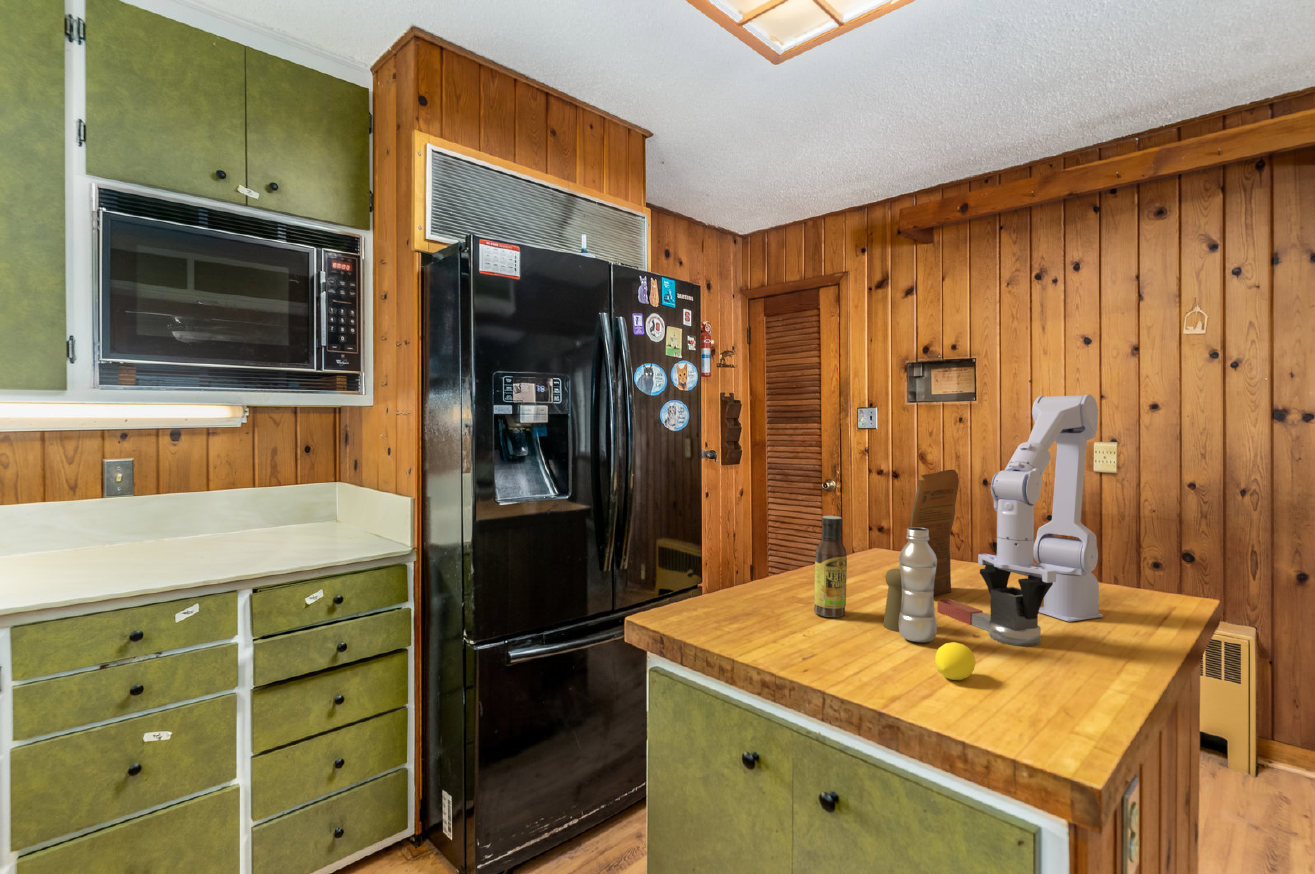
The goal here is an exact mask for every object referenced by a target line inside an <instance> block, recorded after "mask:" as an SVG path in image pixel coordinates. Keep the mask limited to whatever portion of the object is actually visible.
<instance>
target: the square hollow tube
mask: <svg viewBox="0 0 1315 874" xmlns="http://www.w3.org/2000/svg"><path fill="white" fill-rule="evenodd" d="M990 615H991V622H992V623H995V624H997V625H1000V626H1003V627H1006V628H1008V629H1011V630H1014V631H1019V630H1025V629H1032V628H1038V626H1039V624H1038V623H1039V621H1038V619H1039V618H1038V616H1037V618H1036V619H1025V617H1024V605H1023V595H1022V591H1021V588H1018V587H1015V586H1007V587H1005V588H997V589H991V596H990Z"/></svg>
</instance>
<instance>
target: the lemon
mask: <svg viewBox="0 0 1315 874" xmlns="http://www.w3.org/2000/svg"><path fill="white" fill-rule="evenodd" d="M934 656H935V660H934V661H935V663H934V664H935V666H936V669H937V671H938V672H939V673H940V674H942V675H943V677H944V678H945V679H948V680H951V681H962V680H964V679H966V678H968V677H970V675H971V674H972V673H973V672H974V671H975V666H976V663H977V661H976V658H975V655H974V653H973V651H972V650H971V648H969V647H968V646H966V645H964V644H963V643H958V642H955V641H951V642H946V643H944V644H942V645H941V646H939V647H938V649H937V650H936V653H935V655H934Z"/></svg>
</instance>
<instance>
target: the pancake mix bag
mask: <svg viewBox="0 0 1315 874" xmlns="http://www.w3.org/2000/svg"><path fill="white" fill-rule="evenodd" d="M917 485H918V486H917V488H916V489H917V490H916V492H915V498H914V501H913V505H912V506H913V507H912V510H911V516H910V522H909V528H911V527H918V528H926V529H928V531H929V540H928V541H927V542H928V544H929V546H930V547H931V548H932V550H933V551H934V553H935V555H936V558H937V566H936V573H935V579H934V590H933V591H934V594H933V598H934V597H937V596H940V595H945V594H948V593H952V579H951V577H952V576H951V575H952V573H951V570H952V569H951V534H952V528H953V526H954V521H955V515H956V504H957V503H956V502H957V497H958V492H959V491H958V490H959V474H958V472H957V471H956V470H955V469H947V470H939V471H938V472H935V473H934V472H933V473H926V474H922V475H920V479H919V480H918V484H917Z"/></svg>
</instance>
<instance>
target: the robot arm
mask: <svg viewBox="0 0 1315 874" xmlns="http://www.w3.org/2000/svg"><path fill="white" fill-rule="evenodd" d="M1031 413H1032V420H1033V422H1034V424H1033V426H1032V430H1031V432H1030V435H1029V437H1028V439H1027V441H1026V442H1022V443H1020V444H1018V446H1017V447H1016V448H1015V449H1016V450H1015V451H1014V452H1013V455H1012V456H1011V458H1010V459H1009V462H1008V463H1007V464H1006V467H1005V468H1004V469H1003V470H1000V471H999V472H996V473H994V475H993V476H992V480H991V485H990V492H991V497H992V500H993V508H994V511H996V519H997V520H996V555H995V554H989V553H979V554H978V556H977V557H978V558H977V562H978V563H977V564H978V565H979V566H985V567H984V568H980V569H979V574H980V576H981V577H982V578H983V580H984V582H985V585H986V587H987V589H988V593H989V596H990V597H991V589H997V588H1005V587H1008V583H1009V579H1010V576H1011V574H1012V573H1014V574H1017V575H1021V576H1025V577H1026V578H1018V580H1017V582H1018V584H1019V586H1020V589H1021V591H1022V595H1023V605H1024V617H1025V619H1036V618H1037V616H1038V615H1039V613H1041V614H1043V615H1046V616H1049V617H1052V618H1056V619H1058V620H1062V621H1065V622H1075V621H1083V620H1088V619H1089V620H1090V619H1097V618H1098V619H1099V618H1103V617H1104V615H1103V614H1102V613H1099V608H1100V601H1099V599H1100V592H1099V591H1100V585H1099V581H1098V579H1097V577H1096V576H1095V574H1093V573H1092V572H1093V571H1094V570H1095V569H1096V567H1097V565H1098V564H1097V563H1098V559H1099V551H1098V547H1097V546H1098V545H1097V543H1098V542H1097V536H1096V534H1095V533H1094V532H1093V531H1092V530H1091V529H1090V528H1088V527H1087V526H1085V525H1084V524H1083V523H1082V522H1081V521H1082V505H1083V492H1084V477H1085V476H1084V474H1085V463H1086V450H1087V444H1088V441H1089V440H1091V439H1093V438H1096V437H1097V431H1098V423H1099V422H1098V421H1099V420H1098V419H1099V406H1098V403H1097V400H1096V398H1095V397H1094V396H1093V395H1092V394H1085V395H1084V394H1083V395H1080V394H1079V395H1053V396H1045V395H1039V396H1037V397H1036V399H1035V400H1034V402H1033V405H1032V409H1031ZM1054 442H1055V443H1056V445H1057V447H1056V457H1055V458H1056V459H1055V471H1054V486H1053V487H1054V488H1053V499H1052V514H1051V520H1050V521H1049V522H1046V523H1045V524H1043V525H1041V526H1039V528H1037V532H1036V538H1035V539H1034V537H1035V535H1034V534H1035V532H1034V531H1035V530H1034V529H1035V521H1034V520H1035V517H1034V516H1035V504H1036V503H1037V502H1038V500H1039V499H1040V496H1041V489H1042V485H1043V478H1042V477H1043V475H1044V472H1045V471H1046V470H1047V467H1048V466H1049V463H1050V461H1051V458H1052V456H1051V452H1050V451H1049V450H1050V448H1051V447H1052V445H1053V444H1054ZM1055 535H1059V536H1055ZM1060 535H1061V536H1068V537H1075V538H1068V537H1060ZM1076 538H1077V539H1076ZM1034 540H1035V541H1034ZM1034 560H1035V562H1036V563H1035V562H1034ZM1042 603H1043V606H1041V605H1042Z"/></svg>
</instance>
